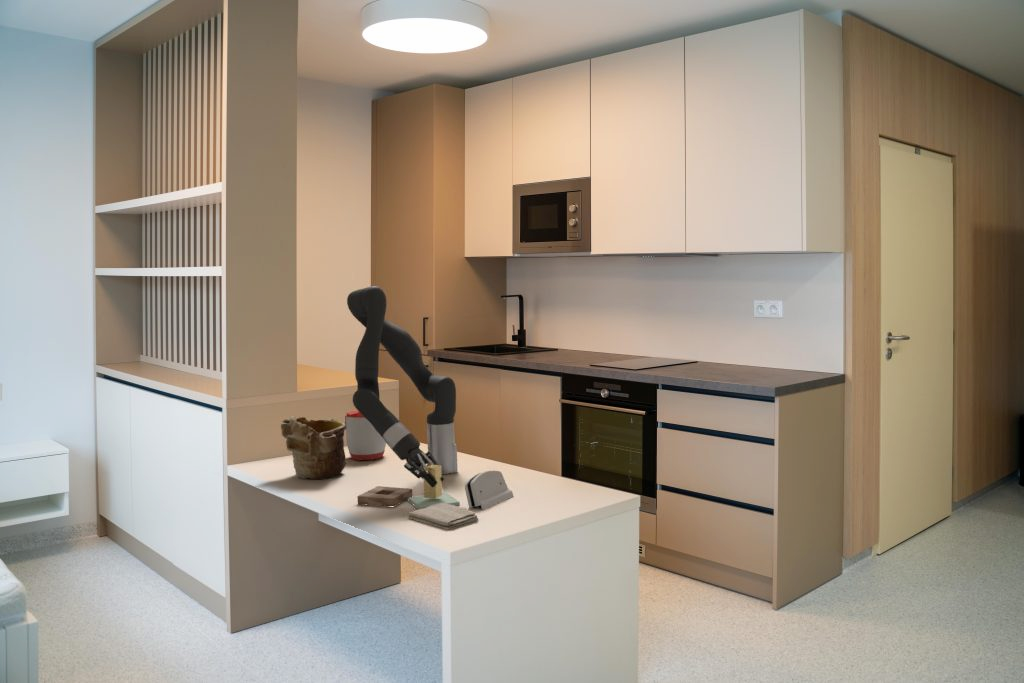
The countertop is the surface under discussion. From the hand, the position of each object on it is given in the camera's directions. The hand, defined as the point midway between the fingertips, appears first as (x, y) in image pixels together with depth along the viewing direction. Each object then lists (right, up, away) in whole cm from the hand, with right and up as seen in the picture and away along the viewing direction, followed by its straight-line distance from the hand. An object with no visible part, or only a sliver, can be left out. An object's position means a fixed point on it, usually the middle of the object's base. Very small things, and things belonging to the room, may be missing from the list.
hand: (438, 483), depth 244 cm
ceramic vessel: (-44, -5, +40) cm, 59 cm away
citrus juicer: (-34, -2, +67) cm, 75 cm away
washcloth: (+3, -8, -15) cm, 18 cm away
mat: (-2, -6, +1) cm, 6 cm away
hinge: (+15, -6, +1) cm, 16 cm away
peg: (-2, -4, +1) cm, 5 cm away
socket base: (-17, -6, +6) cm, 19 cm away
